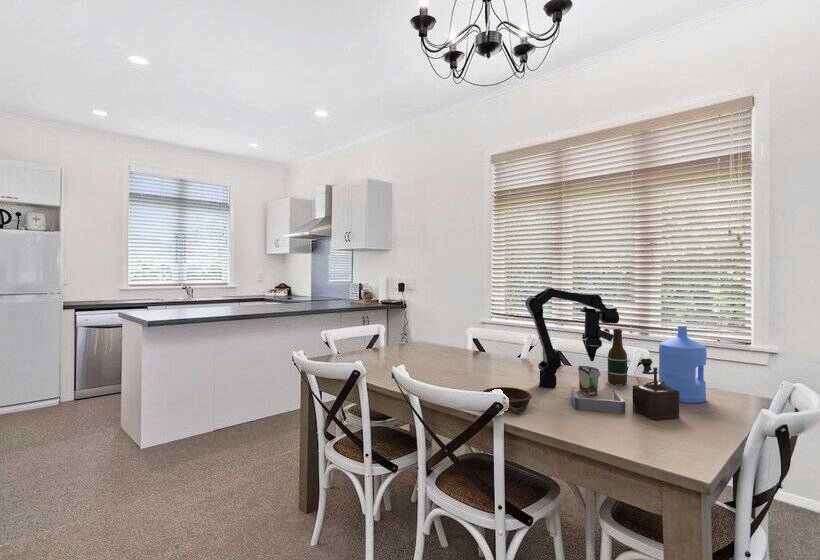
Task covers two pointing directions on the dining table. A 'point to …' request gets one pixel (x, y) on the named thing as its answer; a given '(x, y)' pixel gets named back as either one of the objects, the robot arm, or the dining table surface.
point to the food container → (588, 380)
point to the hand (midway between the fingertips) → (590, 358)
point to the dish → (515, 398)
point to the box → (599, 403)
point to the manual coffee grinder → (655, 397)
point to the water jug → (683, 366)
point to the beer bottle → (617, 360)
